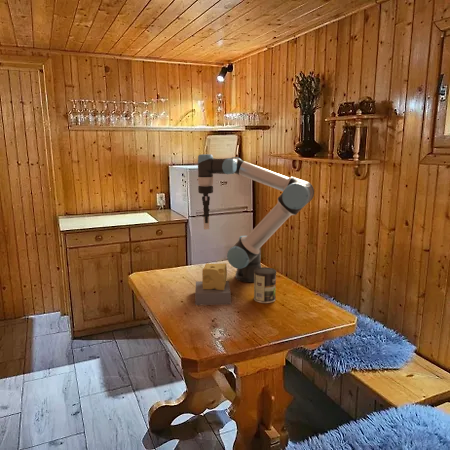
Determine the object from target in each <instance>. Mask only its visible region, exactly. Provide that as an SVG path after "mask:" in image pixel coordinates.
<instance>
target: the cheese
mask: <svg viewBox="0 0 450 450" xmlns="http://www.w3.org/2000/svg"><path fill="white" fill-rule="evenodd" d="M227 268H228V267H227V263H210V262H209V263H208V262H207V263H205V264H204V267H203V268H202V278H201V279H202V280H201V281H202V284H203V289H216V290H224V287H225V284H226V281H227V279H228V278H227V277H228V269H227Z"/></svg>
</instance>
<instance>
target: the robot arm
mask: <svg viewBox="0 0 450 450" xmlns="http://www.w3.org/2000/svg"><path fill="white" fill-rule="evenodd" d="M215 174H216V175H234V174H236V175H239V176H241V177H244V178H246V179H249V180H251V181H254V182H257V183H258V184H259V183H260V184H261V185H265V186H267V187H270V188H273V189H275V190H278V191H280V192H282V193H281V194H280V195H279V196H278V198H277V203H276V204H275V206H273V208H271V209H270V210H269V212H268V213H267V214H266V215H265V216H264V217H263V218H262V219H261V221H259V222H258V224H257V225H256V226H255V227H254V228H253V229H252V230H251V231H250V232H249V233H248V234H247V235H240V236H239V238H238V240H237V242H236V243H235V244H234V245H233V246H231V247H230V248H229V249H228V250H227V252H226V258H227V262H228V263H229V265H231V267H233V268H235V269H236V271H235V279H236V280H238V281H240V282H242V283H254V270H255V269H256V268H262V265H261V253H262V250H261V249H262V246H263V245H264V244H265V243H267V241H269V240H270V238H271V237H272V236H273V235H274V234H275V233H276V232H277V231H278V229H280V227H281V226H282V225H284V223H285V222H286V221H287V220H288V219H289V218H290V217H291V216H296V215H298V213H299V212H300V211H301V210H302V209H304V207H305V206H307V204H308V203H310V202H311V201H312V200H313V198H314V195H315V189H314V186H313V184H312V183H311V182H309V181H307V180H304V179H300V178H297V177H295V176H290V177H289V176H286V175H283V174H280V173H277V172H275V171H272V170H269V169H267V168H264V167H261V166H259V165H256V164H254V163H251V162H248V161H244V160H242V159H241V158H240V157H235V156H233V157H225V158H214V156H213V154H211V153H210V154H209V153H205V154H201V153H200V154H198V155H197V176H198V177H197V179H196V181H198V182H197V183H198V186H197V187H198V190H197V191H198V194H201V195H203V196H201V200H202V206H203V214H202V215H201V216H202V217H203V230H210V211H211V210H210V207H209V206H210V201H211V197H210V196H209V195H210V194H213V193H214V175H215Z"/></svg>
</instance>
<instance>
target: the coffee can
mask: <svg viewBox="0 0 450 450" xmlns="http://www.w3.org/2000/svg"><path fill="white" fill-rule="evenodd" d="M276 283H277V270H276V269H275V268H272V267H262V266H261V268H256V269H255V270H254V282H253V300H254V301H255V302H257V303H260V304H271V303H274V302H275V301H276V293H277V292H276V290H277V289H276V287H277V284H276Z"/></svg>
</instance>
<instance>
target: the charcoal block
mask: <svg viewBox="0 0 450 450" xmlns="http://www.w3.org/2000/svg"><path fill="white" fill-rule="evenodd" d="M194 293H195V296H194V298H195V300H194V301H195V304H194V305H195V306H210V305H211V306H212V305H215V306H217V305H219V306H220V305H231V303H232V301H231V300H232V299H231V298H232V297H231V296H232V295H231V294H232V293H231V287H230V282H229V280H226V284H225V287H224V290H216V289H203V284H202V280H201V281H195V292H194Z"/></svg>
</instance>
